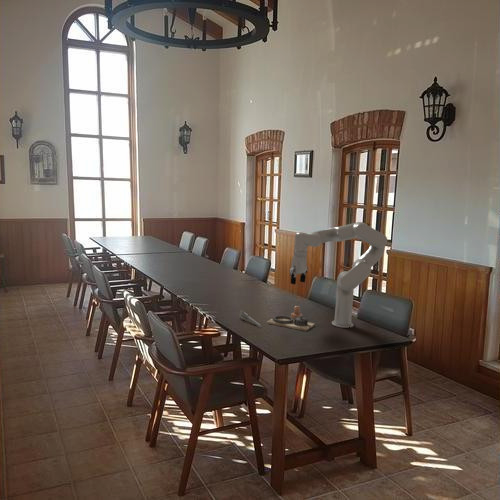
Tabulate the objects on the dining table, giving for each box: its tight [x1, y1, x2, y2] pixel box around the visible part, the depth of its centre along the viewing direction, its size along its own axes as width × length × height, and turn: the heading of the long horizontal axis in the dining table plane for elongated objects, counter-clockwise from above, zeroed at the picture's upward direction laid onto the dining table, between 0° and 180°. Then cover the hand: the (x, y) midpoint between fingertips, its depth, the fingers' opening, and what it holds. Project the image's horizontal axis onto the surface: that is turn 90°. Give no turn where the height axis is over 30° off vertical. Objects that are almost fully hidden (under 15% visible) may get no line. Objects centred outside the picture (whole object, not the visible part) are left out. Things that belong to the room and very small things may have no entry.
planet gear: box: [290, 305, 303, 319], centre depth 295 cm, size 7×7×8 cm
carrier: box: [266, 314, 316, 332], centre depth 282 cm, size 14×24×6 cm, turn 62°
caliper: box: [239, 308, 263, 328], centre depth 281 cm, size 20×1×6 cm, turn 37°
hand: (297, 282), depth 286 cm, fingers open, 9 cm apart
